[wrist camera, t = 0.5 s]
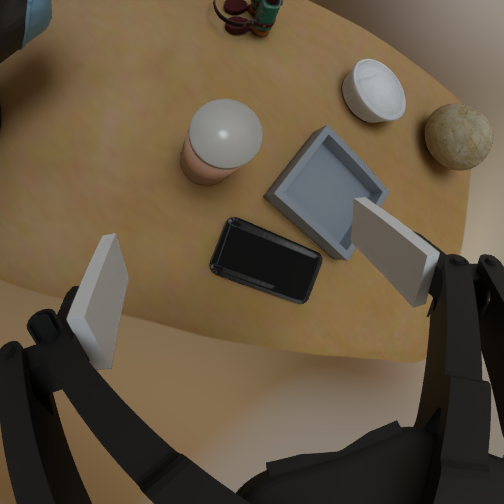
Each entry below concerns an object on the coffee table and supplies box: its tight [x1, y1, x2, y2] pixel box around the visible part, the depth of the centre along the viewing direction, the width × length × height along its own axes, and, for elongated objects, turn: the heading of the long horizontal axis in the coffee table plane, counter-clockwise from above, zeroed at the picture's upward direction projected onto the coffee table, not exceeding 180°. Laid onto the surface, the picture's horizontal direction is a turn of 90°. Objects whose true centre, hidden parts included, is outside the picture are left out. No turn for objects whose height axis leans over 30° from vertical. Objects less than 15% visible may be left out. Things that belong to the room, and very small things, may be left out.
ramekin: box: [342, 59, 406, 123], centre depth 43 cm, size 11×11×5 cm
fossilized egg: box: [425, 104, 493, 171], centre depth 44 cm, size 13×13×15 cm
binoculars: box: [213, 0, 283, 36], centre depth 33 cm, size 9×11×10 cm
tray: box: [263, 125, 389, 261], centre depth 42 cm, size 14×13×4 cm
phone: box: [210, 217, 322, 304], centre depth 42 cm, size 8×1×15 cm
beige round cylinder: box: [180, 99, 263, 185], centre depth 33 cm, size 7×7×12 cm
